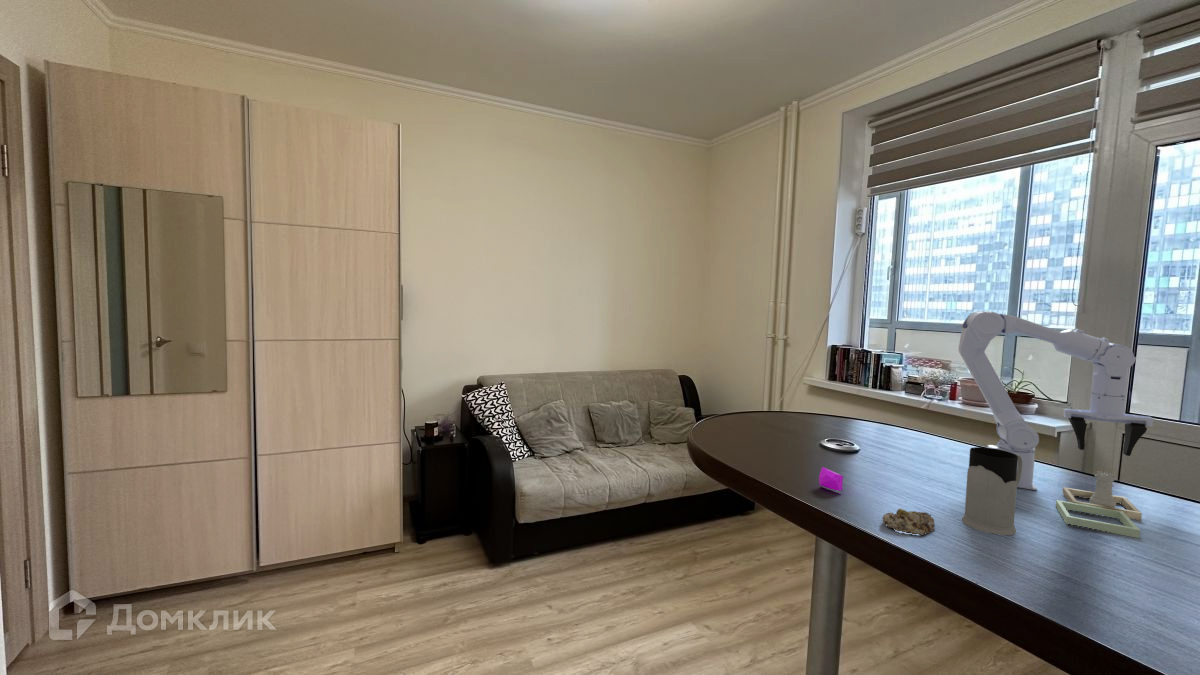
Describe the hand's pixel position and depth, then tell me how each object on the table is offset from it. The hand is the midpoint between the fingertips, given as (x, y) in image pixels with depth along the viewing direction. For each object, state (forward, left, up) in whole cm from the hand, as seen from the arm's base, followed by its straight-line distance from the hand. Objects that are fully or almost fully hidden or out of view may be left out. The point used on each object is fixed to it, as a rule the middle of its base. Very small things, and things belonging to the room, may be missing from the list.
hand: (1103, 451), depth 116 cm
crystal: (-53, -34, -11) cm, 64 cm away
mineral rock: (-37, -46, -11) cm, 60 cm away
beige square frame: (-2, -10, -10) cm, 14 cm away
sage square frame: (-5, -21, -10) cm, 24 cm away
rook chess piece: (-2, -11, -11) cm, 15 cm away
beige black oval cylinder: (-22, -34, -11) cm, 42 cm away
